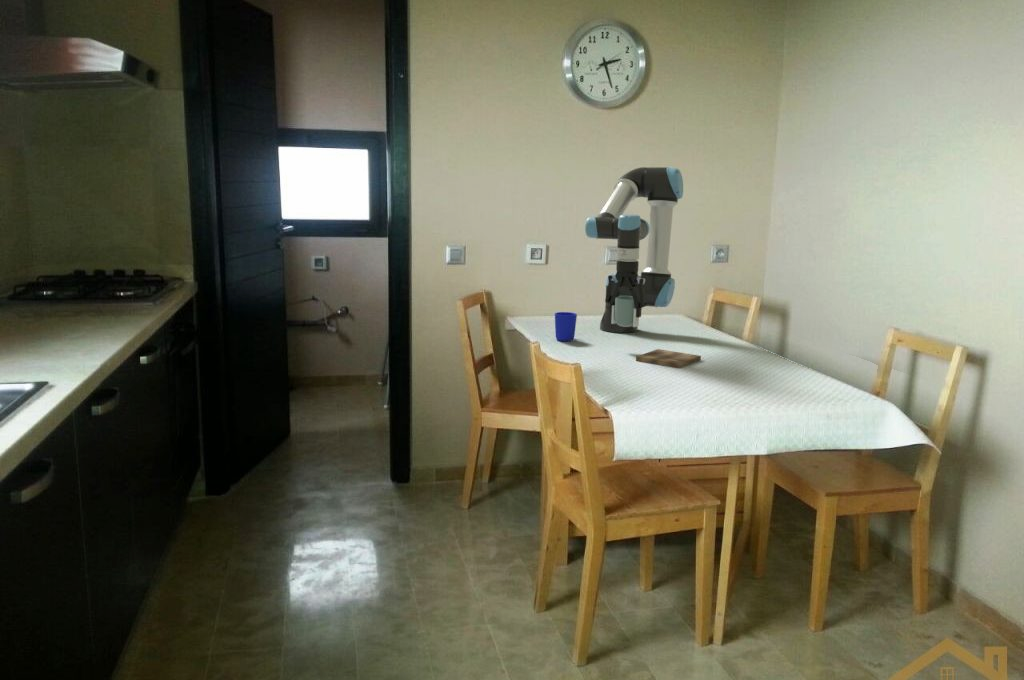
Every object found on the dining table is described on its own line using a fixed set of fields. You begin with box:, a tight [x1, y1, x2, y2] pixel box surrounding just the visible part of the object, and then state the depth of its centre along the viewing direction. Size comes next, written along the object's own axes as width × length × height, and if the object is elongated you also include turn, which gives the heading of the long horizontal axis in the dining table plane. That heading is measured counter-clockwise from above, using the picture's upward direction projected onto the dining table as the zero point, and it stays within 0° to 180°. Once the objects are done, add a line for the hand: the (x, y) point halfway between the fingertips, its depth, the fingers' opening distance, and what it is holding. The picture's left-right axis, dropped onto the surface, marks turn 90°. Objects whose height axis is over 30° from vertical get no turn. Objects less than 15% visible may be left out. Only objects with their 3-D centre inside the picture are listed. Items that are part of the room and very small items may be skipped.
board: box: [635, 348, 702, 369], centre depth 268 cm, size 16×16×2 cm
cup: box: [615, 296, 636, 327], centre depth 280 cm, size 8×8×10 cm
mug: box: [554, 311, 578, 342], centre depth 300 cm, size 8×12×10 cm
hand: (624, 324), depth 281 cm, fingers closed on cup, 8 cm apart
